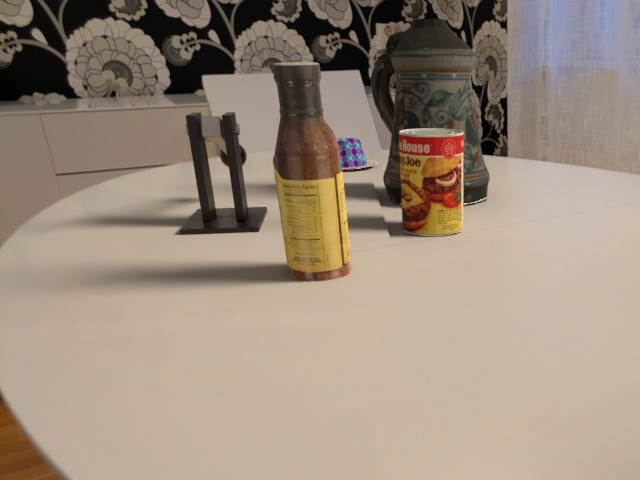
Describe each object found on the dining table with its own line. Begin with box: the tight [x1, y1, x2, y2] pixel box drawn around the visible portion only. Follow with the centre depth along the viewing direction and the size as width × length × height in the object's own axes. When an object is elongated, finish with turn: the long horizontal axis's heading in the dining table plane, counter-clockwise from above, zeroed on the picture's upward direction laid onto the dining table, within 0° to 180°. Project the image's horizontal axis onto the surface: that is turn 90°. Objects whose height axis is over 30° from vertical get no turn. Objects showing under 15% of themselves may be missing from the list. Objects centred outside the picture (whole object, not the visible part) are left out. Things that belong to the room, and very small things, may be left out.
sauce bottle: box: [272, 61, 352, 282], centre depth 63 cm, size 6×6×20 cm
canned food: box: [399, 128, 464, 237], centre depth 84 cm, size 8×8×12 cm
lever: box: [201, 115, 248, 168], centre depth 89 cm, size 17×4×4 cm, turn 12°
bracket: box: [179, 111, 268, 236], centre depth 84 cm, size 12×9×14 cm
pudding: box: [336, 137, 378, 169], centre depth 131 cm, size 12×12×5 cm
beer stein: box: [370, 18, 491, 204], centre depth 101 cm, size 16×19×25 cm
